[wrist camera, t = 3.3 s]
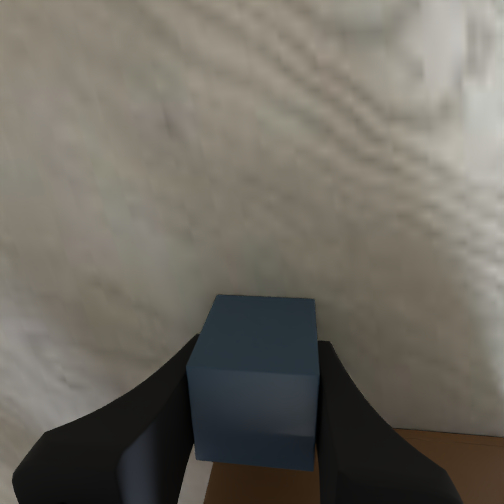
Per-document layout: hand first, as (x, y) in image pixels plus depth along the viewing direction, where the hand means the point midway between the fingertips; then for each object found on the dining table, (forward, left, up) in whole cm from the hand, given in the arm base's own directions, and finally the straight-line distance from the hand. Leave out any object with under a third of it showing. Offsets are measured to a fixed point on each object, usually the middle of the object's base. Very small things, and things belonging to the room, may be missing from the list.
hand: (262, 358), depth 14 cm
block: (0, 0, -1) cm, 1 cm away
